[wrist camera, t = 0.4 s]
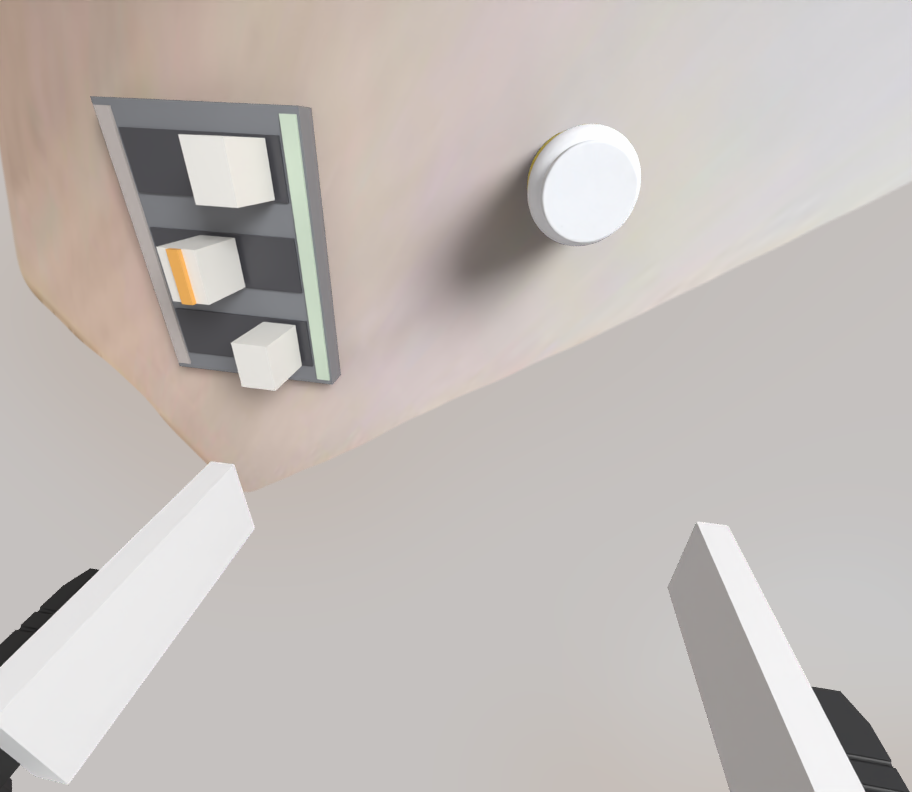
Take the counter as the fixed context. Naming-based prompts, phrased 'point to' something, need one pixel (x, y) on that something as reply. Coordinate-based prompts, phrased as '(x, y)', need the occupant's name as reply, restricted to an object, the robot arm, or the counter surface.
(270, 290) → the panel
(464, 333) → the counter surface
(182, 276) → the breaker mid
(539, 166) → the pill bottle
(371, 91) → the counter surface
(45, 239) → the counter surface
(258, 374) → the block
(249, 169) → the breaker near
